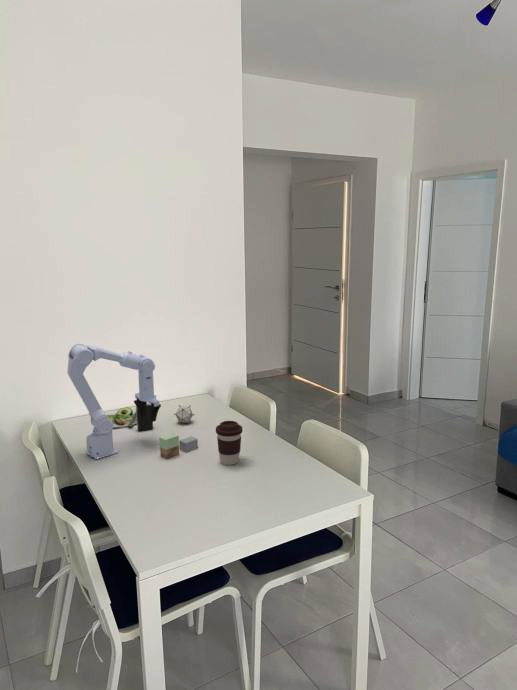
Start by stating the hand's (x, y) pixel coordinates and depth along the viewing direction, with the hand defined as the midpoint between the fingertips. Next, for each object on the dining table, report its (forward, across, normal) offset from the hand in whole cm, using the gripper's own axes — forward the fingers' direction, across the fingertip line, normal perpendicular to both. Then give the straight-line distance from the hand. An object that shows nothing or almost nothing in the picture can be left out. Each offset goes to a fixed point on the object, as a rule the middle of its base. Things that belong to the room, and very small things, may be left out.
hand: (147, 418), depth 213 cm
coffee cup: (+11, -36, -12) cm, 39 cm away
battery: (+11, +14, -7) cm, 19 cm away
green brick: (+6, -16, +1) cm, 17 cm away
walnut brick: (+10, -16, +1) cm, 19 cm away
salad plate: (+11, +30, -5) cm, 32 cm away
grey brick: (+11, -16, -8) cm, 21 cm away
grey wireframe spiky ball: (+11, +8, -24) cm, 27 cm away
